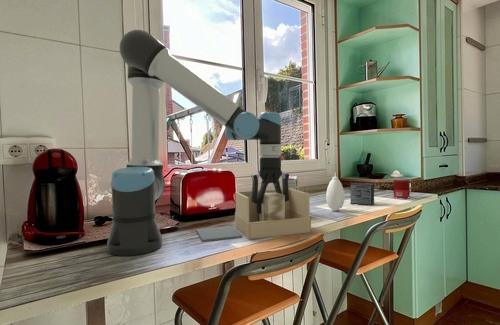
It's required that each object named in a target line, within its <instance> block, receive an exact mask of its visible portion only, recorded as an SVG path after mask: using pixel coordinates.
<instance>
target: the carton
mask: <svg viewBox="0 0 500 325" xmlns="http://www.w3.org/2000/svg"><path fill="white" fill-rule="evenodd" d="M259 191H260V189H258V192H259ZM272 191H274V192H276V190H275V189H266V191H265V192H272ZM281 191H282V194H283V188H281ZM234 195H235V213H234V226H235V227H234V228H235V229H236V230H237V231H238V232H239V233H240V234H241V235H242V236H244V237H245V238H247V239H248V240H250V239H251V240H252V239H261V238H272V237H280V236H281V237H282V236H289V235H298V234H299V235H300V234H305V233H306V234H308V233H312V217H311V216H310V215H311V214H310V213H311V212H310V211H311V209H310V208H311V206H310V204H311V203H310V193H308V192H304V191H301V190H299V189H298V190H294V189H289V201H286V202H285V219H282V220H271V221H261V222H258V213H257V204H256V203H254V202H252V190H245V191H244V190H243V191H235V194H234ZM257 198H258V195H257Z"/></svg>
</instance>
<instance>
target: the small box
mask: <svg viewBox="0 0 500 325" xmlns="http://www.w3.org/2000/svg"><path fill="white" fill-rule="evenodd" d="M355 204H358V206H368V205H372V206H373V205H375V183H367V182H365V183H364V182H362V183H360V182H352V183H350V205H355Z"/></svg>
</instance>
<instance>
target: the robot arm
mask: <svg viewBox="0 0 500 325" xmlns="http://www.w3.org/2000/svg"><path fill="white" fill-rule="evenodd" d="M119 53H120V56H121V59H122V60H123V61H124V63H125V64H126V65H127V82H128V83H129V84H130V85H131V87H132V92H131V93H132V98H131V99H132V100H131V103H132V105H131V108H132V111H131V159H130V160H129V161H128V162H127V163H126V167H125V168H123V167H122V168H118V169H116V170H114V171H113V172H112V173H111V181H110V186H111V202H112V203H111V207H112V226H111V228H110V232H109V235H108V238H107V242H106V251H107V253H108V254H110V255H113V256H119V257H130V256H138V255H145V254H148V253H151V252H154V251H156V250H159V249H160V248H161V247H162V245H163V237H162V234H161V231H160V229H159V226H158V224H157V223H158V222H157V219H156V201H157V200H158V199H160V197H161V196H162V194H163V192H164V190H165V186H166V182H165V178H164V175H163V174H164V167H163V166H164V164H163V162H162V161H161V160H160V159H159V150H160V149H159V148H160V146H159V144H160V143H159V142H160V141H159V140H160V139H159V138H160V91H161V90H160V89H161V88H162V87H164V85H165V84H166V85H167V86H169V87H170V88H172V89H173V90H175V91H176V92H177V93H178V94H180V95H182V96H183V97H184V98H185V99H187V100H188V101H190V103H192V104H194V105H195V106H196V107H198V108H199V109H201V110H202V111H203V112H205V113H206V114H208V115H209V116H211V117H212V118H213V119H214V120H216V121H217V122H219V123H220V124H221V125H223V127H225V129H224V130H225V138H226V140H227V141H249V140H250V141H252V140H253V141H257V140H259V156H260V158H259V171H258V173H255V174H254V173H253V174H251V177H250V178H251V179H252V188H251V189H252V190H251V191H252V202H254V203H256V204H257V213H258V214H259V222H261V221H264V205H263V204H262V201H263V198H264V194H265V191H266V190H267V187H268V185H269V184H272V185H273V186H274V190H276V193H279V194H282V191H281V189H283V194H282V195H285V202H286V201H289V189H288V178H289V176H290V174H289V173H287V172H286V173H285V172H283V171H282V158H281V157H280V156H282V142H281V141H282V121H281V119H282V118H281V114H280V113H279V112H276V111H267V112H266V111H264V112H260V113H259V116H258V117H257V116H256V115H255V114H254V113H252V112H249V111H247V110H245V109H244V108H243V107H241V106H240V105H239V104H237V103H236V102H234V101H233V100H232V99H230V98H229V97H227V95H225V94H224V93H222V92H221V91H220V90H219V89H217V88H216V87H214V86H213V85H212V84H211V83H209V82H208V81H207V80H205V79H204V78H202V77H201V76H200V75H198V73H196V72H195V71H193V70H192V69H190V68H189V67H188V66H186V64H184V63H183V62H181V61H180V60H179V59H177V58H176V57H174V56H173V55H172V54H171V52H170V49H169V48H168V47H167V46H166V45H164V44H163V43H162V42H161V41H159V39H157V38H156V37H155V36H153V34H151V33H149V32H147V31H146V30H142V29H132V30H129V31H127V33H125V34H124V35H123V36H122V38H121V40H120V43H119ZM280 178H281V184H282V188H281V185H280ZM260 179H261V184H260V189H258V188H259V180H260ZM258 190H260V191H259V195H258ZM257 195H258V198H257Z"/></svg>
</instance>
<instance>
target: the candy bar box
mask: <svg viewBox="0 0 500 325" xmlns="http://www.w3.org/2000/svg"><path fill="white" fill-rule="evenodd" d="M288 189H294V190H298V191H299V176H298V175H289V178H288Z"/></svg>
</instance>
